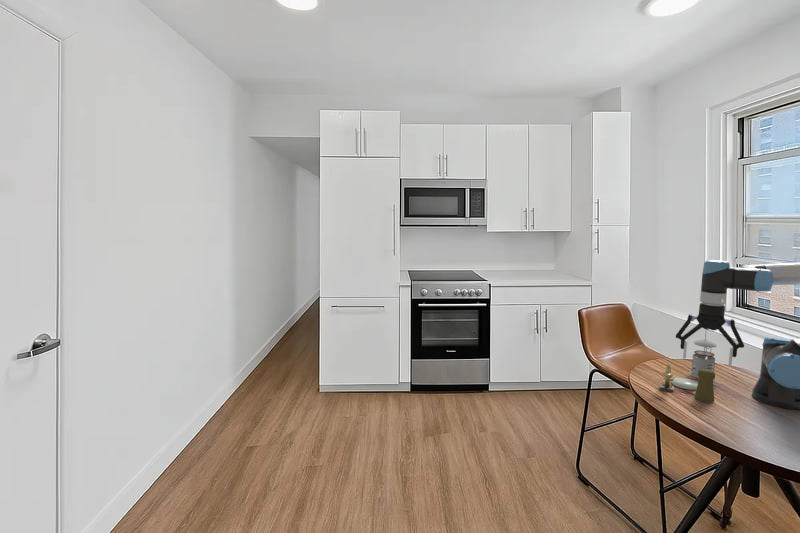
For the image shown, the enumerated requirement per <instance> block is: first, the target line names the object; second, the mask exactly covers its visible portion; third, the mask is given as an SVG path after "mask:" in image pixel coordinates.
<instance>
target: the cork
mask: <svg viewBox="0 0 800 533" xmlns="http://www.w3.org/2000/svg"><path fill="white" fill-rule="evenodd" d="M698 376H699V378H698V381H697V382H698V385H697V389H696V390H695V395H694V399H695V400H697V401H699V402H703V403H715V391H714V388H715V387H714V381H715V379H714V378H715V376H716V373H715V371H714V372H713V370H708V369H700V370H699V371H698Z"/></svg>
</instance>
